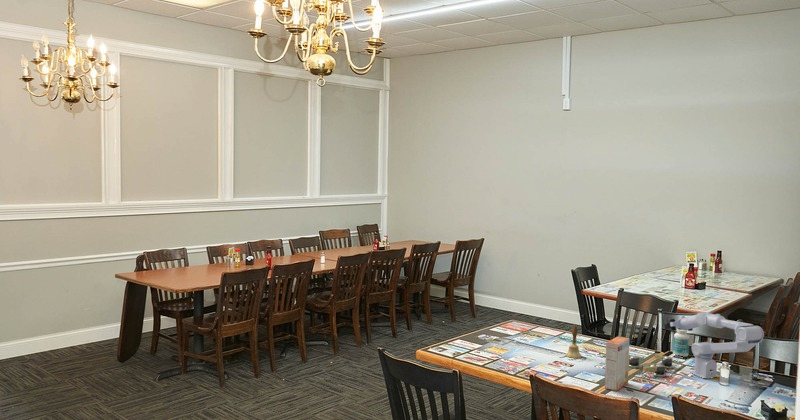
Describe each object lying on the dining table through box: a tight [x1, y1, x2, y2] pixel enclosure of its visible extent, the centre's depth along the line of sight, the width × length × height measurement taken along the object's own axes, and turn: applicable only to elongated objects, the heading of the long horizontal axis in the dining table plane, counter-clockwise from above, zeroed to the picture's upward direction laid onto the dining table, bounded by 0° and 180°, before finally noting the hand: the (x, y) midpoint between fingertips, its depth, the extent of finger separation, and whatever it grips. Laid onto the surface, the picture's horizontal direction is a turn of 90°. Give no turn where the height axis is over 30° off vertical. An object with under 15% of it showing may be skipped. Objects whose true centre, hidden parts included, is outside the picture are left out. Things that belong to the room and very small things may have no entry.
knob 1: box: [629, 355, 640, 366], centre depth 315 cm, size 11×5×4 cm, turn 65°
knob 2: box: [654, 353, 673, 366], centre depth 317 cm, size 11×5×4 cm, turn 15°
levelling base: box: [629, 362, 674, 378], centre depth 309 cm, size 20×21×2 cm
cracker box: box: [604, 336, 630, 392], centre depth 285 cm, size 14×6×21 cm, turn 141°
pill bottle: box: [672, 328, 690, 358], centre depth 335 cm, size 8×7×14 cm
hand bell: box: [564, 325, 583, 359], centre depth 329 cm, size 8×8×16 cm
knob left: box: [642, 363, 666, 374], centre depth 300 cm, size 11×5×4 cm, turn 105°
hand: (672, 327), depth 322 cm, fingers open, 7 cm apart
